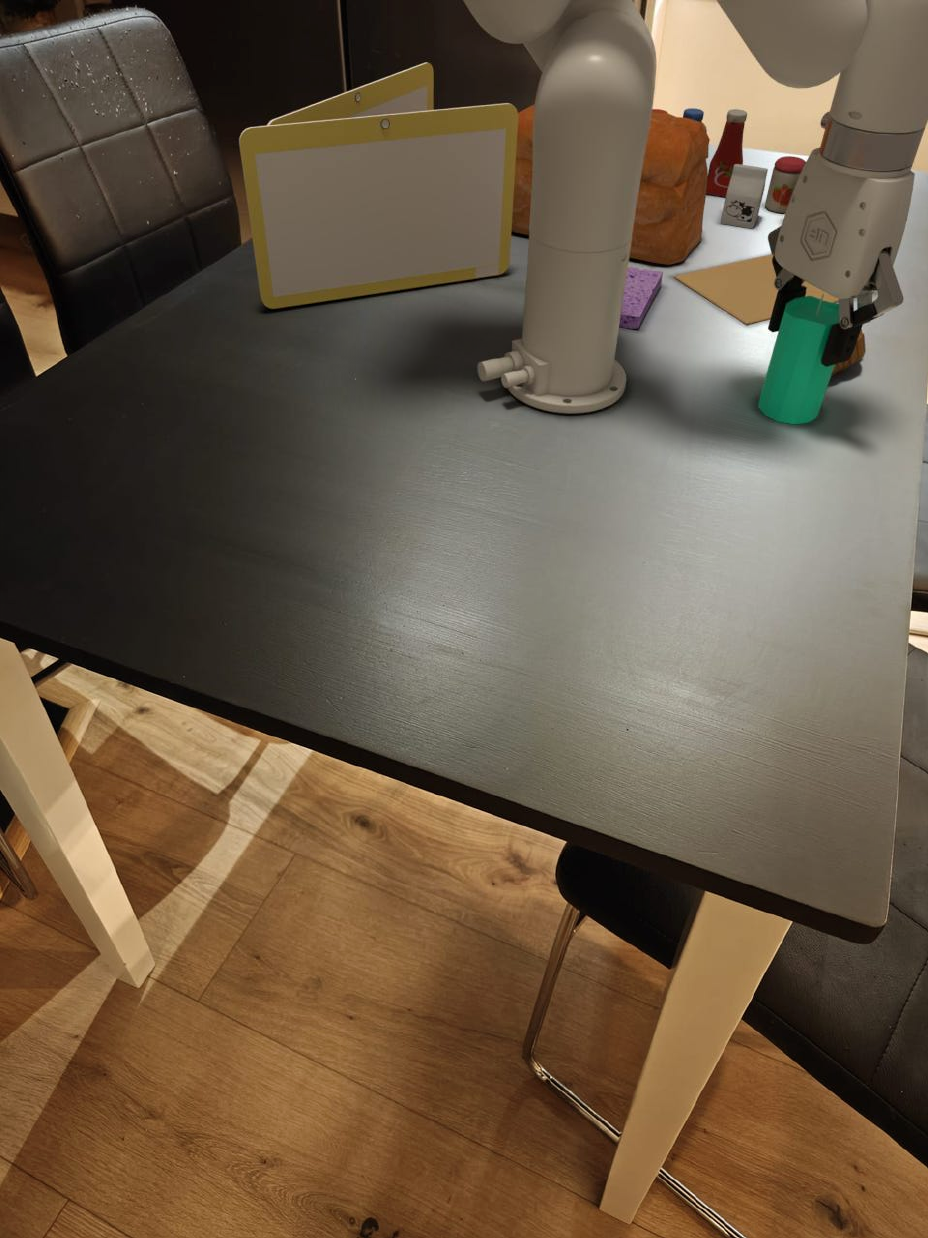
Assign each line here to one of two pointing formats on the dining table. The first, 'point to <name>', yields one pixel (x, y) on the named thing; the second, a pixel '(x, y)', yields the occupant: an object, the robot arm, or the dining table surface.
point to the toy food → (745, 174)
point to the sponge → (638, 295)
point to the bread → (643, 187)
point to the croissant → (856, 355)
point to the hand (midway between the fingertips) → (807, 343)
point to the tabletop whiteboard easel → (379, 192)
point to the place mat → (743, 288)
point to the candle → (799, 362)
